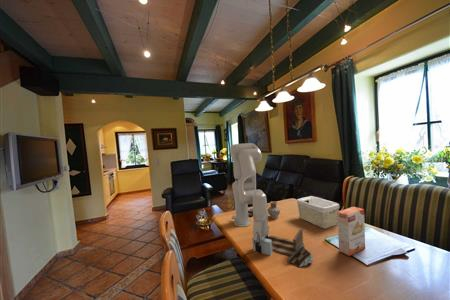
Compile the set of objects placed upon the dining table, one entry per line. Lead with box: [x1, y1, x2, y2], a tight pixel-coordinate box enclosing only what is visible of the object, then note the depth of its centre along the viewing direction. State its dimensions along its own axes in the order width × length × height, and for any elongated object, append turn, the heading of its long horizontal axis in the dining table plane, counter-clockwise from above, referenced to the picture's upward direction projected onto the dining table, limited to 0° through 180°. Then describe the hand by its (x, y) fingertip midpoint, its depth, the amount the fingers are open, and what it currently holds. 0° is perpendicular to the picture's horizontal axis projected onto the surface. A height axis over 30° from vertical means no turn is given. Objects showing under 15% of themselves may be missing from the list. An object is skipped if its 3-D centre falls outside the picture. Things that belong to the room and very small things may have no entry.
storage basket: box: [296, 195, 341, 230], centre depth 135 cm, size 24×16×15 cm
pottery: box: [267, 200, 281, 220], centre depth 154 cm, size 11×25×12 cm, turn 33°
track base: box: [268, 228, 304, 257], centre depth 107 cm, size 20×14×9 cm
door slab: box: [251, 237, 274, 256], centre depth 103 cm, size 10×3×7 cm, turn 55°
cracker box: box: [337, 206, 366, 257], centre depth 98 cm, size 14×6×21 cm, turn 117°
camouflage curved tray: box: [287, 242, 313, 268], centre depth 92 cm, size 10×7×12 cm
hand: (262, 247), depth 103 cm, fingers open, 9 cm apart
